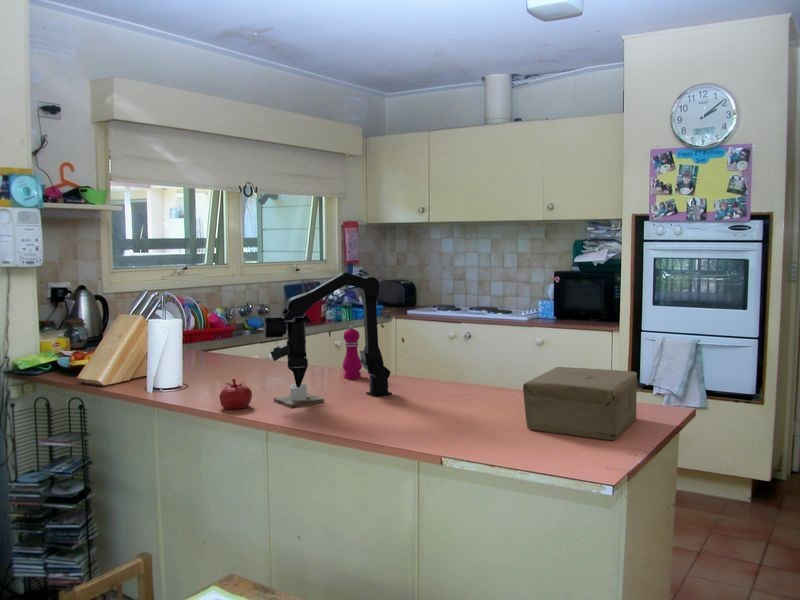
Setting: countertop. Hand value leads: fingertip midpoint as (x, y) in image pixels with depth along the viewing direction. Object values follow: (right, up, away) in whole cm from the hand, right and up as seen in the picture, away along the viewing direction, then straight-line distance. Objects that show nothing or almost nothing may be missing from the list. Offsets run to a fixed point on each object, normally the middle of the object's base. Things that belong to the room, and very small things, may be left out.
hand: (298, 384), depth 230 cm
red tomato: (-19, -7, -5) cm, 21 cm away
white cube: (0, -5, 0) cm, 5 cm away
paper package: (+84, -8, -33) cm, 90 cm away
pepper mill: (+15, -2, +38) cm, 41 cm away
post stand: (0, -6, +1) cm, 6 cm away
